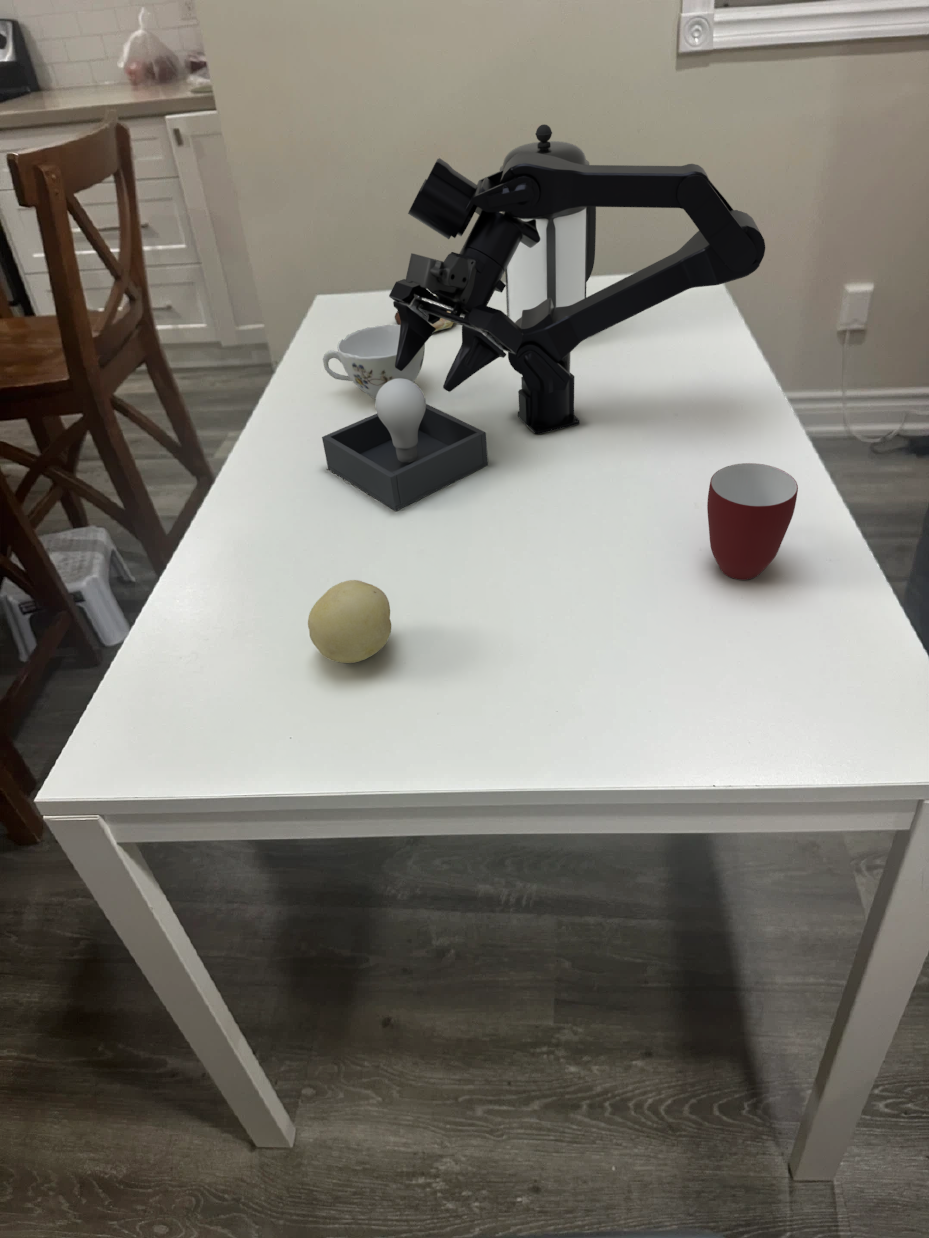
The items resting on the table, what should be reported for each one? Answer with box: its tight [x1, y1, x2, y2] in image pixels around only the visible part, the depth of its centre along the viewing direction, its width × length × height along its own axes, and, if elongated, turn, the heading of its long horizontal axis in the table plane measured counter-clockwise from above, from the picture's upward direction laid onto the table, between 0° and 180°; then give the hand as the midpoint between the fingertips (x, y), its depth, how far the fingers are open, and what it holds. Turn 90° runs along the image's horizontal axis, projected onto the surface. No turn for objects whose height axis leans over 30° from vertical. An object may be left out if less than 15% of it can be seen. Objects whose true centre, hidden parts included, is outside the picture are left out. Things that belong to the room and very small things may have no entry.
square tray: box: [321, 403, 489, 512], centre depth 108 cm, size 15×15×5 cm
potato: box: [307, 579, 392, 664], centre depth 80 cm, size 8×8×8 cm
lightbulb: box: [374, 378, 427, 464], centre depth 106 cm, size 6×6×11 cm
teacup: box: [322, 324, 426, 400], centre depth 125 cm, size 15×12×8 cm
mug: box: [706, 462, 799, 581], centre depth 86 cm, size 10×8×10 cm
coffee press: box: [499, 124, 597, 323], centre depth 131 cm, size 17×16×30 cm
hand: (421, 379), depth 104 cm, fingers open, 9 cm apart
